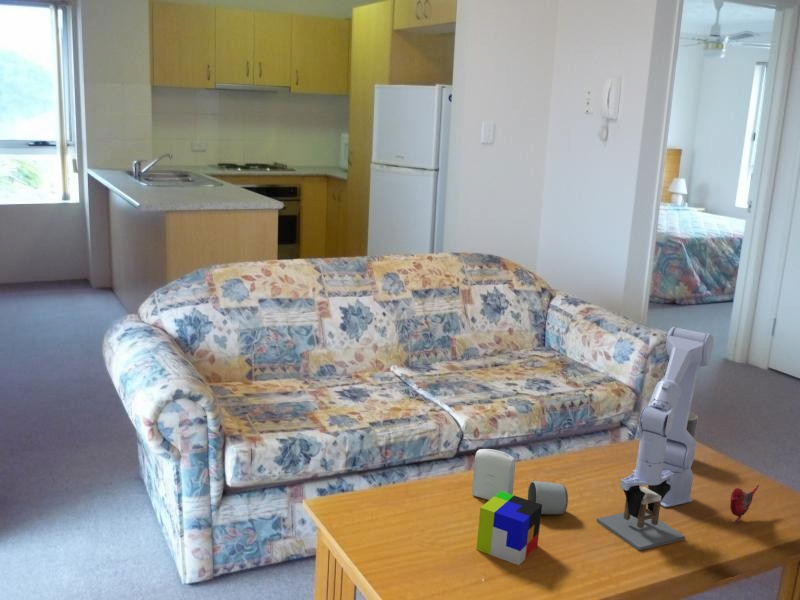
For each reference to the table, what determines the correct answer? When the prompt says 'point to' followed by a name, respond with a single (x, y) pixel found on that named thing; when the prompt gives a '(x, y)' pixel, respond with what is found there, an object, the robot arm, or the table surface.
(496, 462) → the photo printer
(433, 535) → the table surface
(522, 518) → the puzzle toy
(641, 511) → the stool
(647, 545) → the mat
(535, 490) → the ceramic mug
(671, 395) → the robot arm
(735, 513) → the decorative bird figurine
